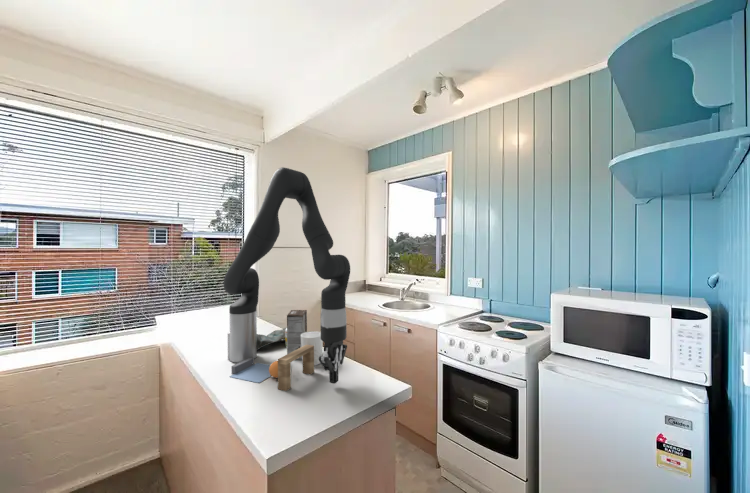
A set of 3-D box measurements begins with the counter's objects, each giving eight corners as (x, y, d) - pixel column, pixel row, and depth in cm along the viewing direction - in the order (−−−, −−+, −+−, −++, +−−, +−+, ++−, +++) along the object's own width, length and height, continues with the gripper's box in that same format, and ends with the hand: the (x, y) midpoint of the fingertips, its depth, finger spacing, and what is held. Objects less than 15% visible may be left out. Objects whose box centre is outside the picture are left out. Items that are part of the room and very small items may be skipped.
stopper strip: (231, 373, 98) (231, 366, 98) (250, 364, 106) (250, 357, 106) (235, 374, 98) (235, 366, 98) (253, 365, 105) (253, 358, 105)
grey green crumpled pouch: (254, 354, 116) (311, 339, 133) (253, 335, 116) (310, 323, 133) (242, 349, 126) (297, 335, 142) (241, 331, 126) (296, 320, 143)
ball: (280, 370, 92) (275, 383, 93) (290, 363, 97) (285, 376, 98) (268, 361, 94) (263, 374, 94) (279, 355, 98) (274, 368, 99)
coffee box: (291, 350, 120) (290, 309, 120) (307, 349, 121) (307, 309, 121) (286, 358, 111) (286, 314, 111) (304, 358, 112) (303, 314, 112)
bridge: (278, 389, 87) (277, 359, 87) (306, 370, 100) (306, 344, 100) (286, 391, 86) (286, 360, 86) (314, 372, 99) (313, 345, 99)
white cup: (318, 367, 103) (318, 338, 103) (296, 365, 105) (296, 336, 105) (326, 359, 111) (326, 331, 111) (306, 357, 112) (306, 330, 112)
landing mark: (229, 376, 96) (229, 376, 96) (257, 363, 107) (257, 362, 107) (258, 383, 91) (258, 382, 91) (284, 368, 102) (284, 367, 102)
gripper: (333, 317, 96) (334, 371, 96) (309, 327, 84) (310, 390, 84) (355, 319, 93) (355, 375, 93) (333, 330, 81) (333, 394, 81)
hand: (333, 382), depth 88 cm, fingers closed
